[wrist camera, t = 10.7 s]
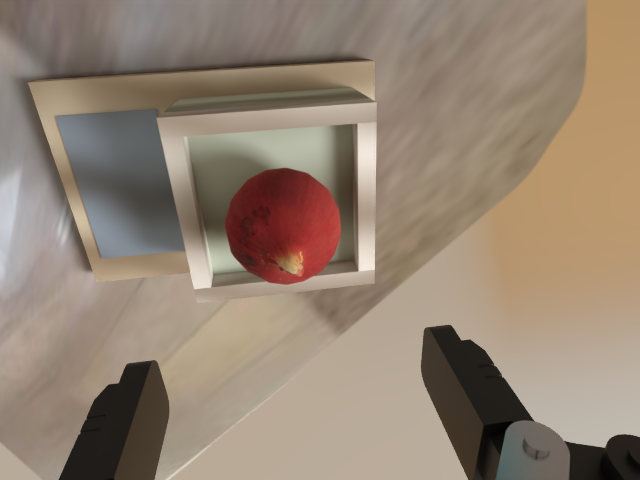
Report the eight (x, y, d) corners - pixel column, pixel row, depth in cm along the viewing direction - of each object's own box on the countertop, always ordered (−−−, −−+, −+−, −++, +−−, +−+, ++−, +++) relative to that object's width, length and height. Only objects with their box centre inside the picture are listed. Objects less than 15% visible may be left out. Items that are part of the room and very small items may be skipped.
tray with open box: (39, 79, 26) (-44, 97, 19) (369, 59, 28) (406, 68, 21) (103, 271, 32) (58, 339, 25) (368, 244, 34) (396, 300, 27)
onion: (242, 249, 26) (233, 334, 19) (221, 159, 23) (200, 219, 16) (335, 234, 26) (360, 312, 19) (324, 143, 23) (349, 195, 16)
